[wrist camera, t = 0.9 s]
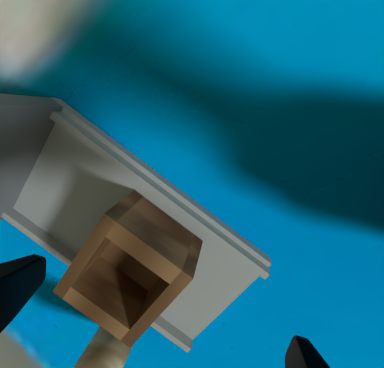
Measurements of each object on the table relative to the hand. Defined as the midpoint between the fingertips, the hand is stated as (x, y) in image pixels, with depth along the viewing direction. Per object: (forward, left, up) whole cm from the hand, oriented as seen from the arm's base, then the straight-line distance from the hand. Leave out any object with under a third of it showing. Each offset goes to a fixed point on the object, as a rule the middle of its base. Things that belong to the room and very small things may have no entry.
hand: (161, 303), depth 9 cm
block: (+1, +7, -12) cm, 14 cm away
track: (+3, +7, -13) cm, 15 cm away
